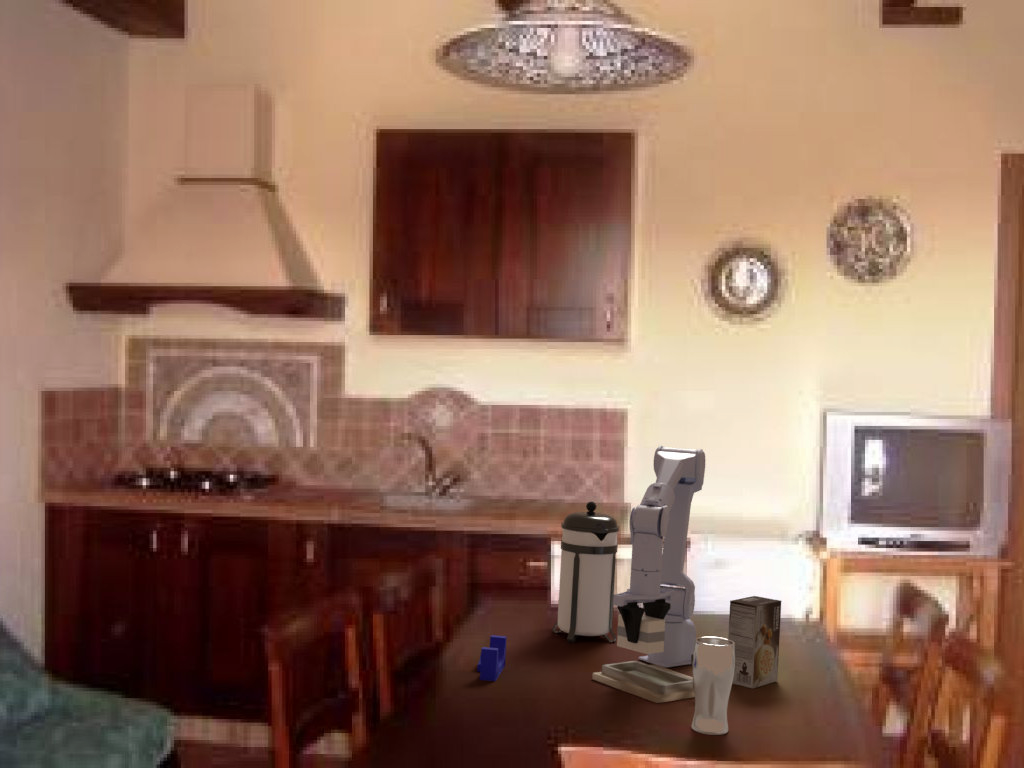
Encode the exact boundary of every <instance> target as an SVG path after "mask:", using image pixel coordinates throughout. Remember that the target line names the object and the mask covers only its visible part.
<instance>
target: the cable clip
mask: <svg viewBox="0 0 1024 768" xmlns="http://www.w3.org/2000/svg"><path fill="white" fill-rule="evenodd" d="M489 639H490V640H489V641H490V642H489V647H485V646H482V648H480V649H481V651H480V657H479V660H478V663H477V669H476V670H477V671H476V672H479V680H480V681H490V682H496V681H497V680H498V678H499V677H500V675H501V673H502V672H503V670H504V669H503V668H505V667H506V657H507V655H506V654H507V635H506V636H503V635H494V634H491V635H490V637H489Z"/></svg>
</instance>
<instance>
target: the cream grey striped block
mask: <svg viewBox="0 0 1024 768" xmlns="http://www.w3.org/2000/svg"><path fill="white" fill-rule="evenodd" d="M617 620H618V621H617V631H616V632H617V633H616V635H617V636H616V646H617V647H619V648H623V649H627V650H630V651H634V652H638V653H641V654H646V655H648V654H652V653H660V652H664V640H665V620H663V619H658V618H654V617H650V616H646V615H645V614H643V617H642V620H641V624H640V631H639V639H638V643H632V642H628V640H627V635H626V630H625V625H624V622H623V619H622V616H621V614H618V617H617Z"/></svg>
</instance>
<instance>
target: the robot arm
mask: <svg viewBox="0 0 1024 768" xmlns="http://www.w3.org/2000/svg"><path fill="white" fill-rule="evenodd" d="M653 455H654V456H653V470H654V474H655V477H656V480H655V482H654V483H651V484H649V485H648V486H647V488H646V491H645V492H644V495H643V497H642V500H641V501H640V504H638V505H636V507H635V506H634V507H632V509H631V512H630V515H629V534H630V536H629V537H630V539H629V540H630V545H632V546H631V560H630V561H631V564H630V566H631V567H630V579H629V588H627V589H626V591H623V592H621V593H615V594H614V599H613V606H617V607H616V608H617V609H618V612H619V613H620V614H621V616H622V619H623V622H624V625H625V630H626V635H627V640H628V642H632V643H638V639H639V631H640V624H641V620H642V617H643V615H646V616H650V617H654V618H658V619H663V620H665V640H664V652H660V653H652V654H647V655H642V656H638V660H641V661H644V662H646V663H649V664H651V665H653V664H654V665H657V666H660V667H663V668H666V669H667V668H673V667H679V666H687V665H692V664H691V654H694V647H695V639H696V638H697V628H696V626H695V623H694V622H693V620H691V618H692V617H693V614H694V612H695V605H696V603H695V602H696V600H695V599H696V595H695V591H696V590H695V589H696V585H695V583H694V581H693V580H692V579H691V578H690V576H688V575H687V574H686V573H685V572H684V566H685V557H686V548H687V542H688V541H687V540H688V533H689V532H688V531H689V524H690V523H689V522H690V514H691V507H692V502H693V501H692V500H693V498H694V495H695V493H698V492H700V491H702V488H703V485H704V480H705V472H706V453H705V452H704V450H703V449H702V448H696V449H695V448H686V447H685V448H684V447H673V446H672V447H671V446H663V445H658V447H657V448H656V449H655V452H654V454H653ZM665 585H666V586H665ZM639 604H642V607H640V605H639ZM620 614H619V615H620Z"/></svg>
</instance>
